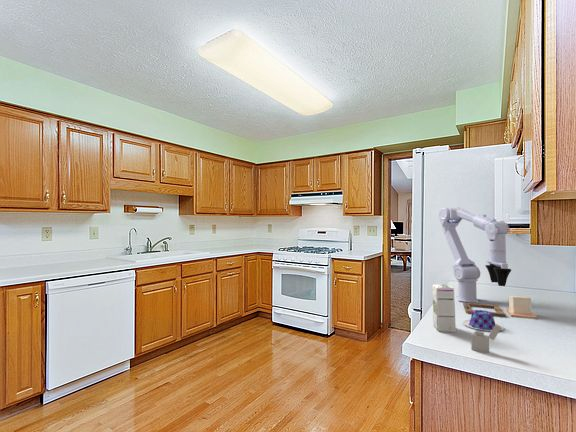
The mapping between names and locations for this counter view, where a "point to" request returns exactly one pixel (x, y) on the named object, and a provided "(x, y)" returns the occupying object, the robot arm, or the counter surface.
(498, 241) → the robot arm
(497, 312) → the wooden picture frame
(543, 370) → the counter surface
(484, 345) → the lighter
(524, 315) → the peach rectangular tile
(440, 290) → the white segmented tower
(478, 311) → the pudding
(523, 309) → the cream upright block
